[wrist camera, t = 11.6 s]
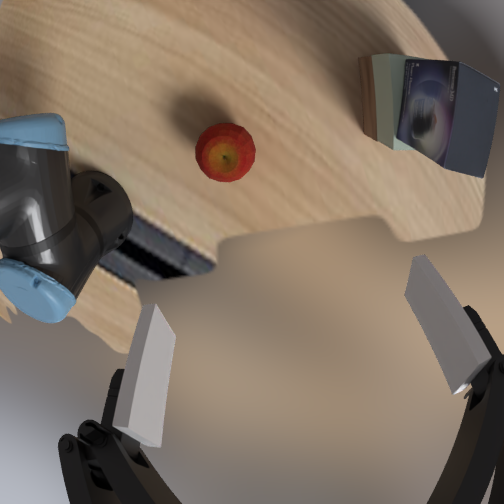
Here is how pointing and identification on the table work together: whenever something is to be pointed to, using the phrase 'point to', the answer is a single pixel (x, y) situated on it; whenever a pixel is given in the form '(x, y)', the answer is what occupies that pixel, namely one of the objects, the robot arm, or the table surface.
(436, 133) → the small box
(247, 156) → the apple
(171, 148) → the table surface
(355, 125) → the table surface
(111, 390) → the robot arm
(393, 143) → the tower top
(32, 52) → the table surface
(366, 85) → the tower base
